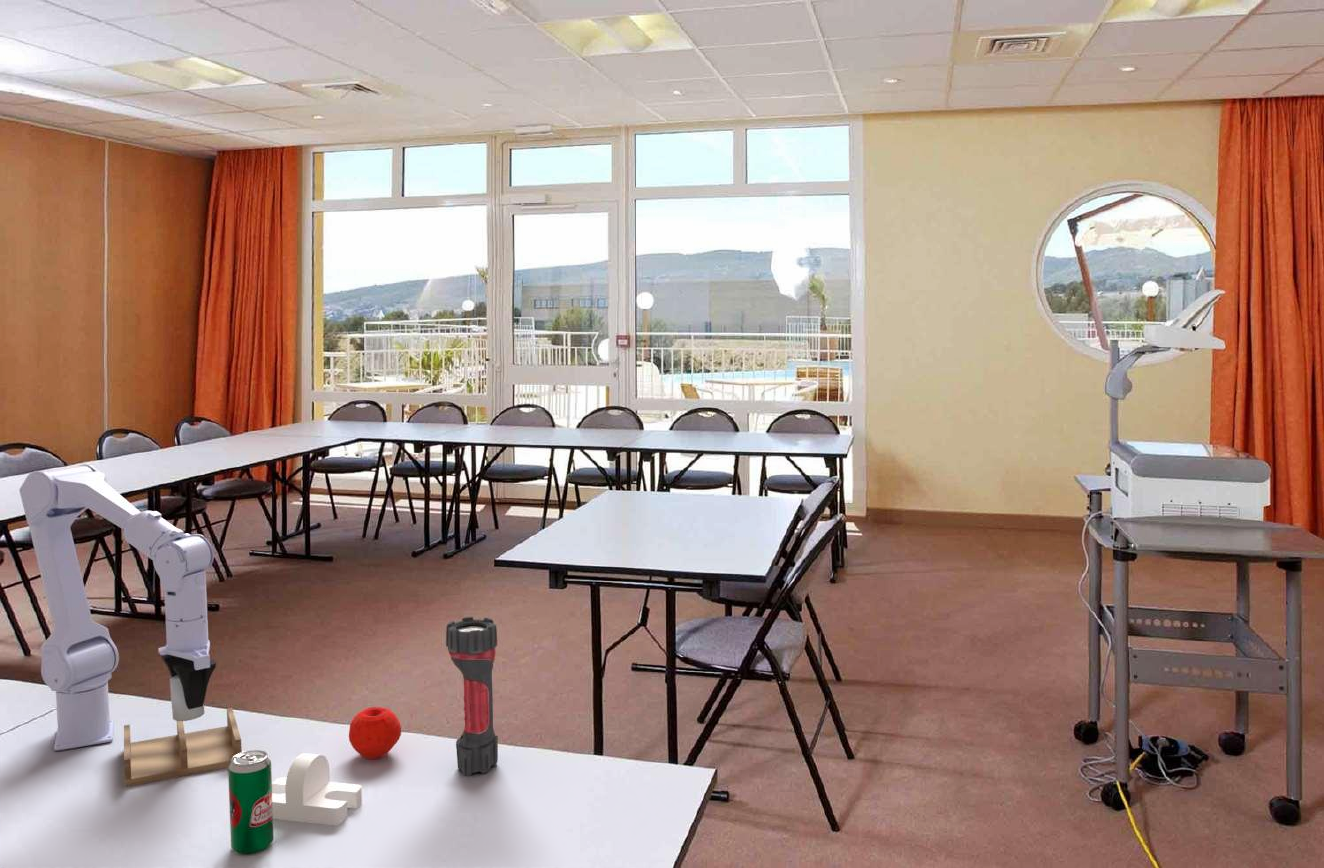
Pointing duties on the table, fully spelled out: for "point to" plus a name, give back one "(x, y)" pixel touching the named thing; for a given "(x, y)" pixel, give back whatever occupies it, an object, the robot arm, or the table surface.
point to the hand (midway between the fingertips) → (190, 702)
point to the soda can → (250, 802)
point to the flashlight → (475, 691)
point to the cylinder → (182, 703)
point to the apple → (374, 732)
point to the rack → (180, 753)
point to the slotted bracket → (313, 793)
